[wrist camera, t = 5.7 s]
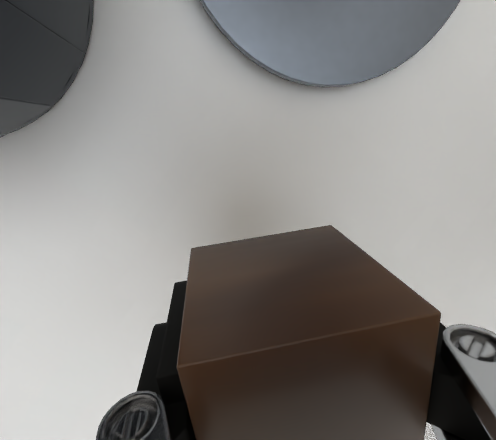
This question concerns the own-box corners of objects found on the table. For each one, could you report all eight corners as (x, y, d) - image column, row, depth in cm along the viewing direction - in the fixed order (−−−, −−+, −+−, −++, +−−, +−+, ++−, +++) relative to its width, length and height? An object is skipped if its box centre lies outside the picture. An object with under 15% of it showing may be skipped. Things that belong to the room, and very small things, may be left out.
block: (331, 224, 10) (442, 312, 5) (333, 336, 12) (419, 478, 7) (190, 247, 9) (175, 367, 5) (214, 360, 11) (219, 531, 6)
